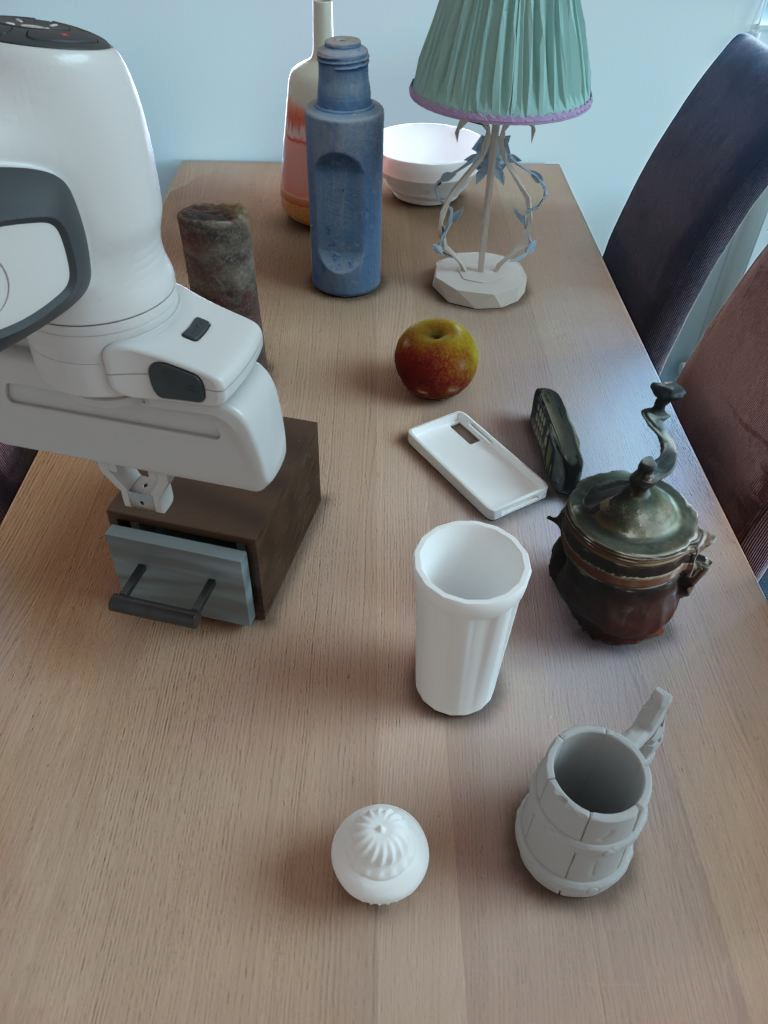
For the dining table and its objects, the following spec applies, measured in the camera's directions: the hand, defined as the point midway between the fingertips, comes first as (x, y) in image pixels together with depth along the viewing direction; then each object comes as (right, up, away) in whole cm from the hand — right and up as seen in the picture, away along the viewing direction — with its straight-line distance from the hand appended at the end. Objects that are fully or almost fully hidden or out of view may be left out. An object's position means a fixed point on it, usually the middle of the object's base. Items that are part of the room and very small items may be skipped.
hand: (150, 504), depth 57 cm
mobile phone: (+34, +4, +27) cm, 44 cm away
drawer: (+1, -6, +14) cm, 15 cm away
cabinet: (+2, -3, +18) cm, 18 cm away
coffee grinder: (+36, -8, +14) cm, 40 cm away
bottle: (+11, +31, +55) cm, 65 cm away
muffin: (+16, -25, -4) cm, 30 cm away
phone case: (+26, +4, +27) cm, 37 cm away
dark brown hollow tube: (-1, +15, +38) cm, 41 cm away
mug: (+31, -22, -1) cm, 38 cm away
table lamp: (+30, +31, +55) cm, 70 cm away
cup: (+22, -14, +7) cm, 27 cm away
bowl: (+24, +53, +79) cm, 98 cm away
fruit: (+22, +14, +37) cm, 45 cm away
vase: (+8, +46, +71) cm, 85 cm away
